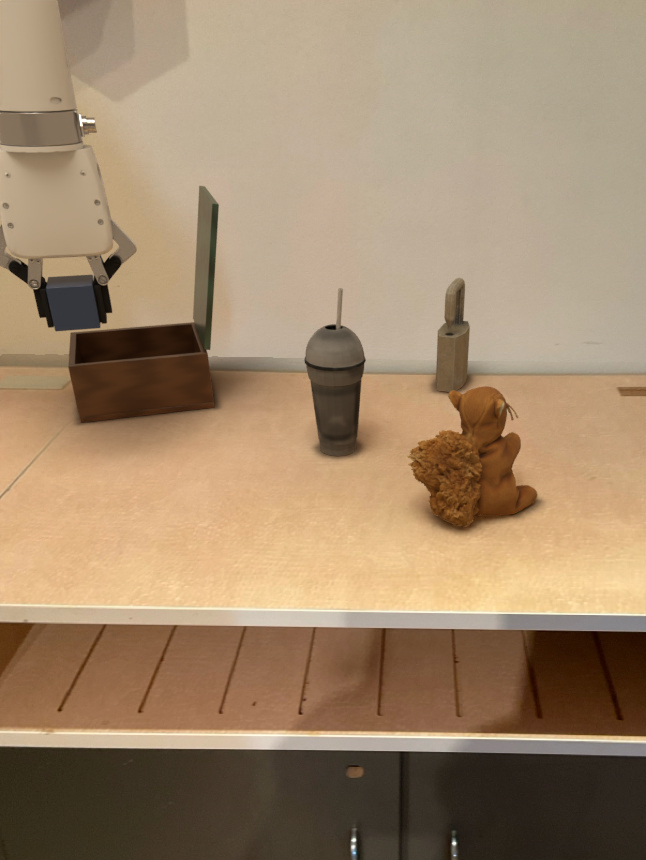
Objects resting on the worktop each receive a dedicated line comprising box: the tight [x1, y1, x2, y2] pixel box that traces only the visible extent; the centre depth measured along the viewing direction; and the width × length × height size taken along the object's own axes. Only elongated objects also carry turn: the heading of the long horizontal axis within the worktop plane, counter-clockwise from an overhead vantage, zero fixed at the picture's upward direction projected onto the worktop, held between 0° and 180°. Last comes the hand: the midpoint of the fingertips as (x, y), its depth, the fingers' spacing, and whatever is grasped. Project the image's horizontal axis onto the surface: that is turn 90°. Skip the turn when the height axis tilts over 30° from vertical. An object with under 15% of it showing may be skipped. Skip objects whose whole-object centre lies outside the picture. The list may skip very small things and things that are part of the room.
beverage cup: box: [303, 288, 367, 457], centre depth 94 cm, size 7×7×20 cm
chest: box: [67, 321, 215, 423], centre depth 112 cm, size 18×15×8 cm
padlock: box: [435, 277, 471, 393], centre depth 115 cm, size 4×8×15 cm, turn 163°
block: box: [46, 274, 101, 332], centre depth 84 cm, size 4×4×4 cm
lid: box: [192, 185, 220, 351], centre depth 107 cm, size 18×15×1 cm
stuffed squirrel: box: [406, 385, 538, 528], centre depth 84 cm, size 10×14×13 cm
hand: (77, 320), depth 85 cm, fingers closed on block, 4 cm apart
